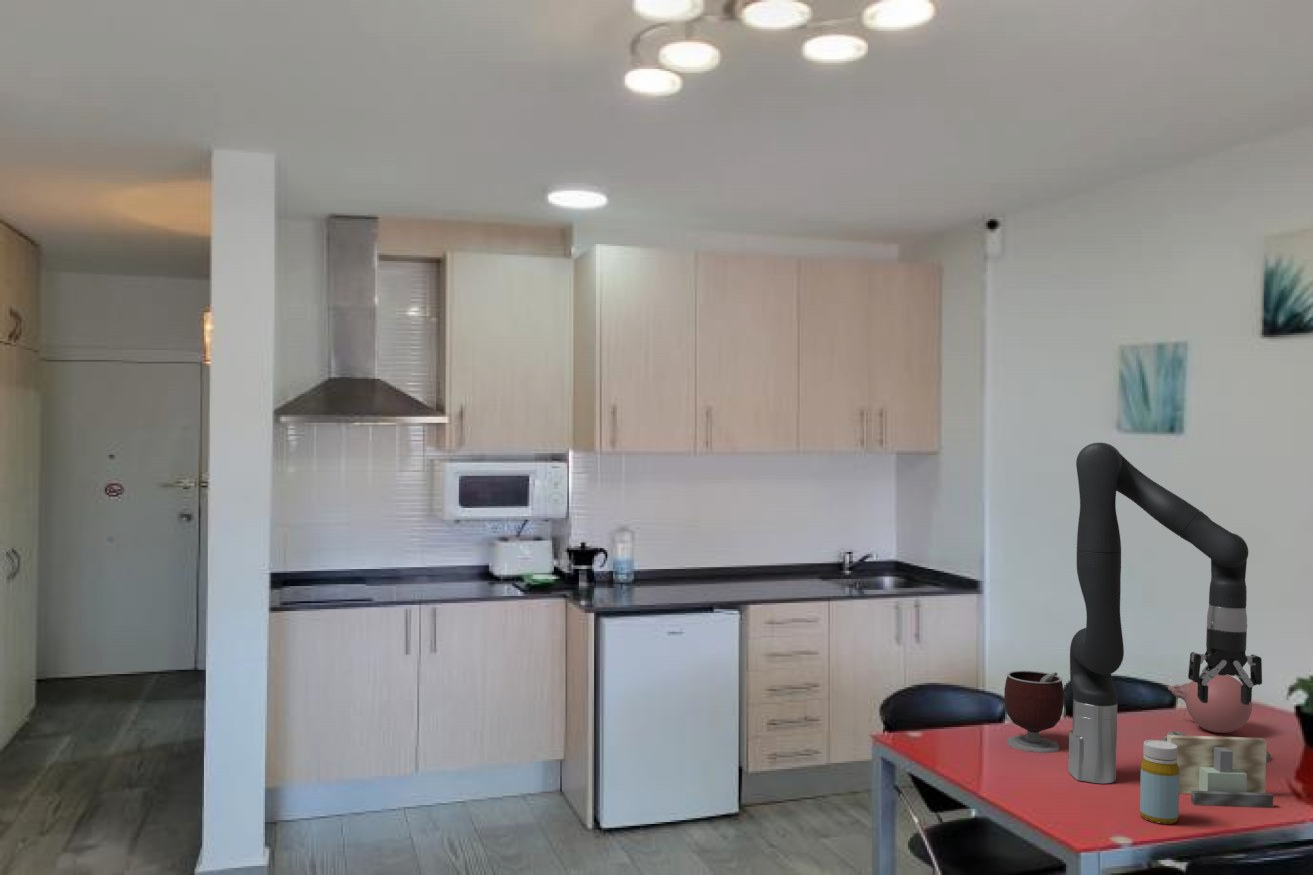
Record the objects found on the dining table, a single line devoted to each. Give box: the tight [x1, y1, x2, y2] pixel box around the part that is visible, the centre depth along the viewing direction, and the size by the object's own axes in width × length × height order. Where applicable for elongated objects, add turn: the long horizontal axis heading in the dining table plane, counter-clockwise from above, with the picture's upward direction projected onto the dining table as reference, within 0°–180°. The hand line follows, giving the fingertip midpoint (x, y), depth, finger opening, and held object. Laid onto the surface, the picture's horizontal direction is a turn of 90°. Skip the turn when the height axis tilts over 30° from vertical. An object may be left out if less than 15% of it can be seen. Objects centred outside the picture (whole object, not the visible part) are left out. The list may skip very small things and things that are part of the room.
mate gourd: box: [1003, 670, 1065, 754], centre depth 261 cm, size 16×14×20 cm
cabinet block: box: [1199, 747, 1247, 792], centre depth 226 cm, size 8×4×10 cm, turn 87°
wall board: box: [1166, 735, 1274, 808], centre depth 225 cm, size 20×9×12 cm, turn 87°
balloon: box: [1167, 674, 1253, 734], centre depth 278 cm, size 15×20×15 cm
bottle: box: [1139, 739, 1180, 825], centre depth 213 cm, size 7×7×15 cm
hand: (1224, 702), depth 225 cm, fingers open, 8 cm apart
